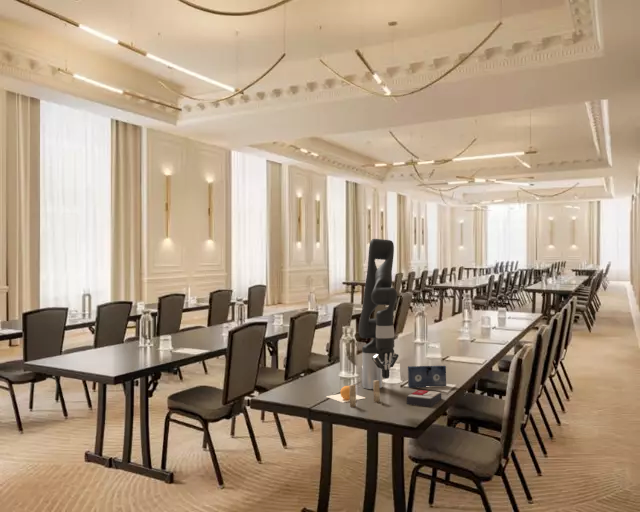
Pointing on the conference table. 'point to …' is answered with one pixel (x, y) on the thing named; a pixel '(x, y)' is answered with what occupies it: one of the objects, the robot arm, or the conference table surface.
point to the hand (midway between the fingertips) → (385, 378)
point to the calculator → (423, 398)
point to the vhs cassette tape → (426, 376)
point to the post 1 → (352, 395)
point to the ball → (345, 392)
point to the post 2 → (376, 391)
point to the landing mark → (340, 399)
